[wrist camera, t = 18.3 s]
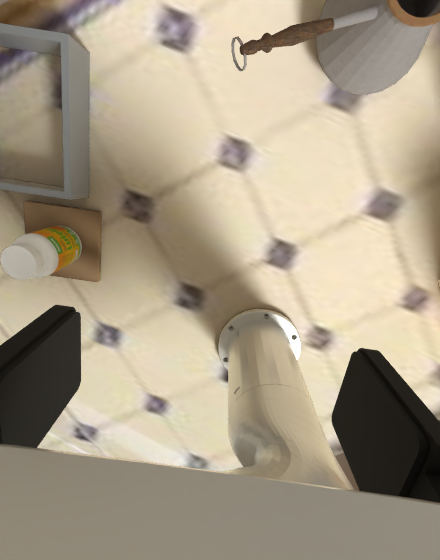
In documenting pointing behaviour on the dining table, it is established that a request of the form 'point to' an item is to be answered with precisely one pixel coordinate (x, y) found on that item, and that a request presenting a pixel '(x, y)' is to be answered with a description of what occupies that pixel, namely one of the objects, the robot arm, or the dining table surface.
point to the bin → (72, 108)
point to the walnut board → (81, 224)
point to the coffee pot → (360, 40)
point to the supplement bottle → (41, 253)
